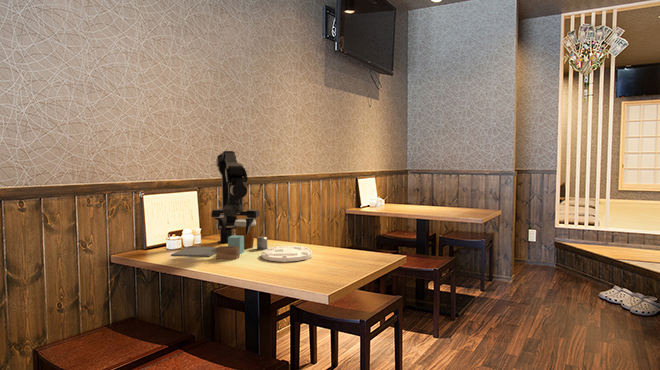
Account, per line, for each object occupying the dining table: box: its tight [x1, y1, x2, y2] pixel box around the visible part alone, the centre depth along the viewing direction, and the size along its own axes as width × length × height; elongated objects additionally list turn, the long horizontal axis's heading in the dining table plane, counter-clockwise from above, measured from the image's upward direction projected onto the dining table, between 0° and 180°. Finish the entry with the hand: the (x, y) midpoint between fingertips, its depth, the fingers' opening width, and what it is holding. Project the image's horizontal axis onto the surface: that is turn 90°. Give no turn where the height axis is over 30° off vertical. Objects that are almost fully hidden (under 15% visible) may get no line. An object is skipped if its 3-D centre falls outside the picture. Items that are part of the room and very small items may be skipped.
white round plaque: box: [261, 245, 313, 263], centre depth 169 cm, size 20×20×3 cm
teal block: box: [227, 234, 245, 256], centre depth 175 cm, size 5×5×7 cm
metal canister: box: [256, 236, 268, 251], centre depth 184 cm, size 4×4×5 cm
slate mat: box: [170, 245, 218, 258], centre depth 177 cm, size 16×16×1 cm
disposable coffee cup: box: [234, 218, 257, 250], centre depth 187 cm, size 10×10×12 cm
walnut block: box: [215, 245, 240, 260], centre depth 166 cm, size 4×8×4 cm, turn 84°
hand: (235, 234), depth 175 cm, fingers open, 9 cm apart
